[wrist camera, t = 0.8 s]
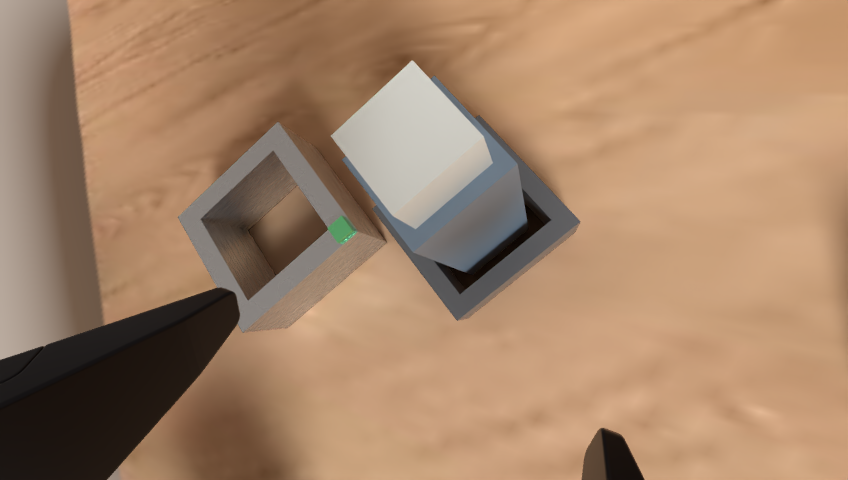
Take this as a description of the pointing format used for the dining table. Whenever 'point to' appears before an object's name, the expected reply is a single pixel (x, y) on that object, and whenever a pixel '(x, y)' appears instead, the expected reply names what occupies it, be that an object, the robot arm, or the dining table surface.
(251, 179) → the socket block
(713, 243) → the dining table surface
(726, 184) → the dining table surface
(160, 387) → the robot arm
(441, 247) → the plug
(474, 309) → the frame
